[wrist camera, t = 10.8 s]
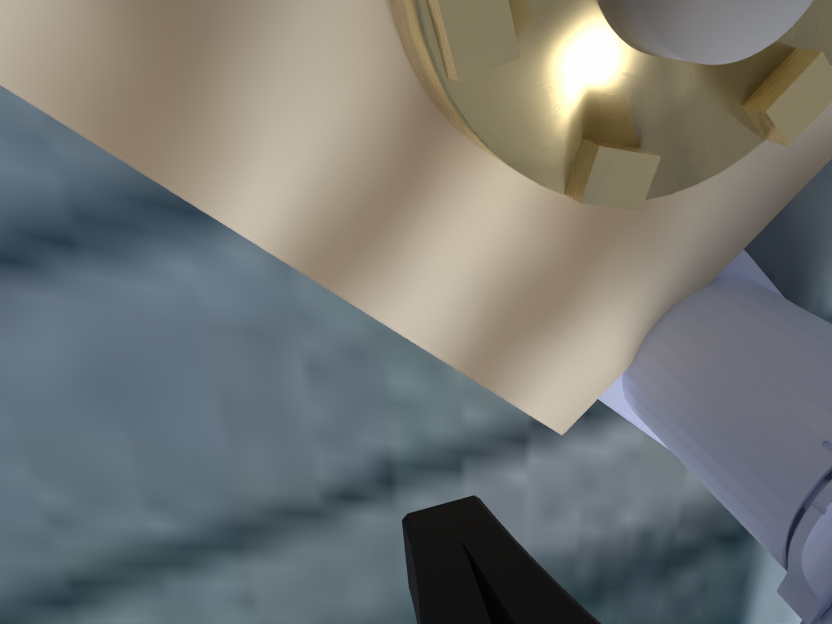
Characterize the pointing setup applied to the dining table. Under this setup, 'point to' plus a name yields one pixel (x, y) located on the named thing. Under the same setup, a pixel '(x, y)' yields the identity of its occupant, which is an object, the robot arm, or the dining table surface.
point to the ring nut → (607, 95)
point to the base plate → (408, 173)
